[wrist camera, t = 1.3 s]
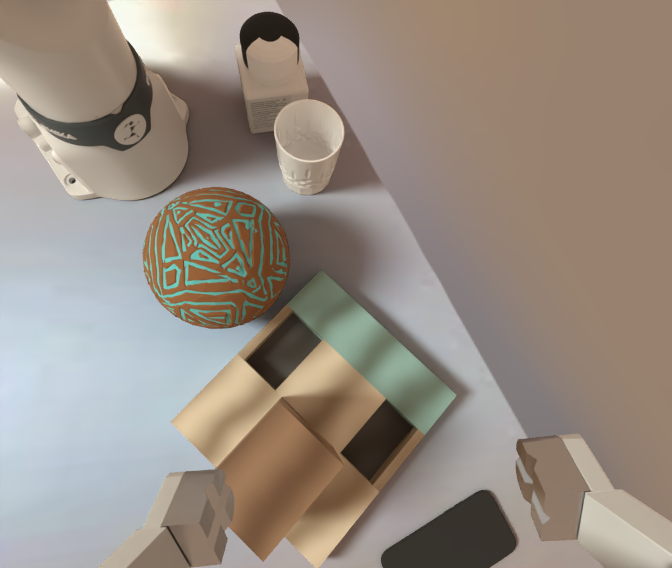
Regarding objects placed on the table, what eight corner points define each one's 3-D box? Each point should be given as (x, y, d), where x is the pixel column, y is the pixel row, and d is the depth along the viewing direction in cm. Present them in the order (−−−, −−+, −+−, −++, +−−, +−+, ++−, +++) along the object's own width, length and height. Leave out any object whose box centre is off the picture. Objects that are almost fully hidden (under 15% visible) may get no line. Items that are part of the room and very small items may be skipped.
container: (241, 85, 58) (227, 4, 45) (296, 79, 59) (297, -2, 47) (251, 135, 57) (239, 65, 44) (307, 127, 58) (311, 57, 45)
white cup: (345, 162, 57) (356, 118, 47) (319, 209, 55) (325, 174, 46) (293, 136, 57) (294, 87, 47) (266, 183, 55) (261, 141, 46)
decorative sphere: (314, 274, 53) (322, 235, 39) (228, 361, 50) (201, 354, 35) (230, 196, 54) (208, 130, 40) (141, 276, 51) (80, 236, 36)
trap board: (176, 419, 48) (170, 421, 45) (319, 274, 53) (321, 269, 51) (315, 559, 46) (317, 569, 44) (448, 394, 52) (456, 395, 49)
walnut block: (215, 467, 45) (195, 492, 35) (281, 396, 47) (279, 401, 37) (269, 521, 44) (263, 561, 35) (333, 446, 47) (344, 465, 37)
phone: (377, 556, 47) (487, 486, 49) (376, 553, 47) (484, 485, 50) (409, 622, 45) (520, 547, 48) (407, 618, 46) (516, 544, 49)
